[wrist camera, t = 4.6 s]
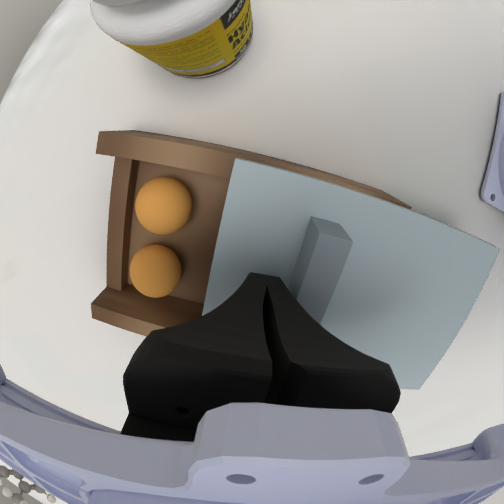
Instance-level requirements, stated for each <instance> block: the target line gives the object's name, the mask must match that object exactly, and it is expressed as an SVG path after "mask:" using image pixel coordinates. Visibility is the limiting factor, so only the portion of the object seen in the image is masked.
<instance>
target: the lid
mask: <svg viewBox="0 0 504 504" xmlns="http://www.w3.org/2000/svg"><path fill="white" fill-rule="evenodd" d="M499 250H500V249H499V248H497V247H496V246H494V245H492V244H490V243H488V242H486V241H484V240H482V239H480V238H477V237H475V236H473V235H471V234H469V233H466V232H464V231H462V230H459V229H457V228H455V227H452V226H450V225H448V224H445V223H443V222H440V221H438V220H436V219H433V218H431V217H428V216H426V215H423V214H420V213H418V212H415V211H413V210H410V209H407V208H405V207H402V206H399V205H397V204H394V203H391V202H388V201H385V200H383V199H380V198H377V197H374V196H371V195H368V194H365V193H362V192H359V191H356V190H353V189H350V188H347V187H344V186H340V185H337V184H334V183H331V182H327V181H324V180H321V179H317V178H314V177H310V176H307V175H303V174H300V173H296V172H292V171H289V170H285V169H281V168H277V167H274V166H270V165H266V164H262V163H258V162H253V161H249V160H245V159H241V158H235V161H234V166H233V170H232V174H231V178H230V183H229V187H228V192H227V196H226V200H225V205H224V210H223V214H222V219H221V223H220V228H219V233H218V237H217V242H216V247H215V252H214V257H213V262H212V266H211V271H210V276H209V282H208V287H207V292H206V297H205V302H204V308H203V313H202V316H203V315H205V314H207V313H209V312H210V311H212V310H213V309H215V308H216V307H218V306H219V305H221V304H222V303H223V302H224V301H226V300H227V299H228V298H229V297H230V296H231V295H232V294H233V293H234V292H235V291H236V290H237V289H238V288H239V287H240V286H241V284H242V283H243V282H244V280H245V279H246V277H247V275H248V274H249V273H250V272H253V273H259V274H265V275H270V276H276V277H280V278H281V280H282V281H283V282H284V284H285V285H286V287H287V288H288V290H289V291H290V292H291V294H292V295H293V296H294V298H295V299H296V300H297V301H298V303H299V304H300V305H301V306H302V307H303V308H304V309H305V311H306V312H307V313H308V314H309V315H310V316H311V317H312V318H313V319H314V320H315V321H317V322H318V323H319V324H320V325H321V326H322V327H323V328H325V329H326V330H327V331H328V332H330V333H331V334H332V335H334V336H335V337H337V338H338V339H340V340H341V341H343V342H344V343H346V344H348V345H349V346H351V347H353V348H355V349H356V350H358V351H360V352H362V353H364V354H366V355H368V356H371V357H373V358H375V359H378V360H380V361H383V362H385V363H387V364H389V365H390V367H391V369H392V371H393V373H394V376H395V378H396V380H397V383H398V385H399V389H420V388H421V386H422V385H423V384H424V382H425V381H426V380H427V378H428V377H429V376H430V374H431V373H432V371H433V370H434V369H435V367H436V366H437V364H438V363H439V361H440V360H441V358H442V357H443V356H444V354H445V352H446V351H447V349H448V348H449V346H450V345H451V343H452V342H453V340H454V338H455V337H456V335H457V333H458V332H459V330H460V328H461V327H462V325H463V323H464V322H465V320H466V318H467V316H468V315H469V313H470V311H471V309H472V307H473V305H474V303H475V302H476V300H477V298H478V296H479V294H480V292H481V290H482V288H483V286H484V284H485V282H486V279H487V277H488V275H489V273H490V271H491V268H492V266H493V264H494V262H495V259H496V257H497V254H498V252H499Z"/></svg>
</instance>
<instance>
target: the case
mask: <svg viewBox="0 0 504 504" xmlns="http://www.w3.org/2000/svg"><path fill="white" fill-rule="evenodd" d="M96 154H102V155H109V156H115V162H114V170H113V178H112V186H111V196H110V208H109V221H108V239H107V287H106V288H105V289H104V290H103V291H102V292H101V293H100V294H99V296H98V297H97V298H96V299H95V300H94V301H93V302H92V303H91V310H92V318H94V319H96V320H99V321H102V322H105V323H107V324H110V325H113V326H116V327H119V328H122V329H125V330H128V331H131V332H134V333H137V334H141V335H144V336H148V334H149V333H150V332H151V331H152V330H158V329H163V328H168V327H172V326H176V325H180V324H183V323H186V322H189V321H192V320H194V319H197V318H199V317H201V316H202V313H203V308H204V302H205V297H206V292H207V287H208V282H209V276H210V271H211V266H212V262H213V257H214V252H215V247H216V242H217V237H218V233H219V228H220V223H221V219H222V214H223V210H224V205H225V200H226V196H227V192H228V187H229V183H230V178H231V174H232V170H233V166H234V161H235V158H241V159H245V160H249V161H253V162H258V163H262V164H266V165H270V166H274V167H277V168H281V169H285V170H289V171H292V172H296V173H300V174H303V175H307V176H310V177H314V178H317V179H321V180H324V181H327V182H331V183H334V184H337V185H340V186H344V187H347V188H350V189H353V190H356V191H359V192H362V193H365V194H368V195H371V196H374V197H377V198H380V199H383V200H385V201H388V202H391V203H394V204H397V205H399V206H402V207H405V208H407V209H410V210H411V208H412V207H410V206H408V205H406V204H405V203H403V202H401V201H399V200H398V199H396V198H394V197H392V196H391V195H389V194H387V193H385V192H383V191H381V190H378V189H376V188H373V187H370V186H367V185H364V184H361V183H358V182H355V181H352V180H349V179H346V178H343V177H340V176H337V175H333V174H330V173H327V172H324V171H320V170H317V169H313V168H310V167H306V166H303V165H299V164H296V163H292V162H288V161H285V160H281V159H277V158H273V157H269V156H265V155H261V154H257V153H253V152H249V151H245V150H240V149H236V148H231V147H227V146H222V145H217V144H212V143H207V142H202V141H197V140H192V139H186V138H180V137H175V136H169V135H162V134H156V133H149V132H142V131H135V130H129V131H101V132H99V135H98V142H97V149H96ZM162 176H167V177H172V178H175V179H177V180H179V181H181V182H182V183H183V184H184V185H185V186H186V187H187V189H188V190H189V192H190V194H191V197H192V212H191V215H190V218H189V220H188V221H187V223H186V224H185V225H184V226H183V227H182V228H181V229H179V230H178V231H176V232H174V233H171V234H165V235H161V234H155V233H153V232H150V231H149V230H147V229H146V228H144V227H143V226H142V224H141V223H140V222H139V220H138V218H137V215H136V211H135V201H136V197H137V195H138V192H139V191H140V189H141V188H142V187H143V185H144V184H146V183H147V182H148V181H150V180H151V179H154V178H157V177H162ZM154 244H158V245H163V246H165V247H168V248H169V249H171V250H172V251H173V252H174V253H175V254H176V255H177V257H178V259H179V261H180V264H181V270H182V273H181V279H180V282H179V284H178V286H177V287H176V288H175V290H173V291H172V292H171V293H170V294H168V295H166V296H163V297H159V298H153V297H148V296H146V295H143V294H142V293H140V292H139V291H138V290H137V289H136V288H135V286H134V285H133V283H132V281H131V278H130V264H131V261H132V259H133V257H134V255H135V254H136V253H137V252H138V251H139V250H140V249H141V248H143V247H145V246H148V245H154Z"/></svg>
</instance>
